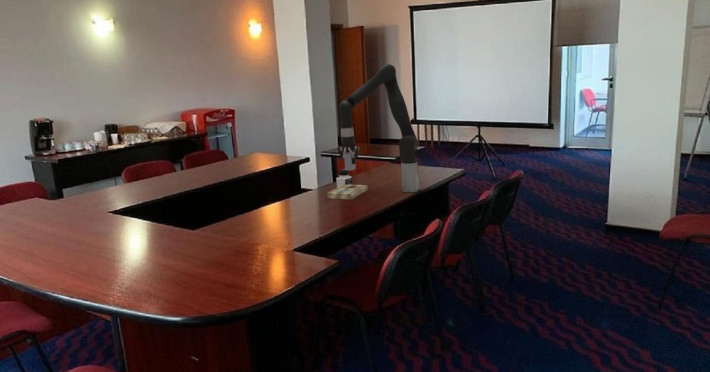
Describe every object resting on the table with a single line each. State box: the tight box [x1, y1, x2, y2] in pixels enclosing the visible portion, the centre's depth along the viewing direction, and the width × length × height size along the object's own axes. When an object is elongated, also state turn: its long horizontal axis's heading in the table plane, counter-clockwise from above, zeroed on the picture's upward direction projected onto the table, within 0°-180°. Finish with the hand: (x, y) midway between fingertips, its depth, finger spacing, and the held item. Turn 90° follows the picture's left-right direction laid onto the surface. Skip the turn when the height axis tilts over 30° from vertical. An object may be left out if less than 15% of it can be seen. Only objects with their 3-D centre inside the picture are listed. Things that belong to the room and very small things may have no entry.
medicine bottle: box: [336, 168, 354, 188], centre depth 350 cm, size 7×7×12 cm
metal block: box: [343, 153, 356, 171], centre depth 333 cm, size 5×5×10 cm
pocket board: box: [326, 184, 369, 200], centre depth 332 cm, size 16×22×4 cm
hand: (349, 163), depth 333 cm, fingers closed on metal block, 4 cm apart
